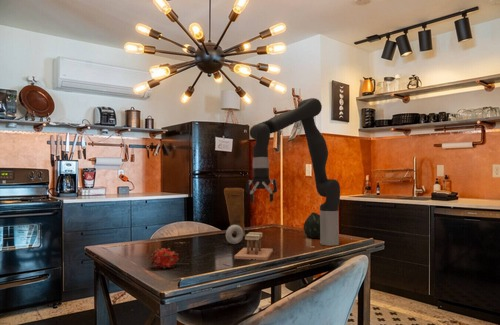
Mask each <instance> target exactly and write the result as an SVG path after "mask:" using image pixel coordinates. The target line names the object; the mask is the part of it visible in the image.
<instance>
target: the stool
mask: <svg viewBox="0 0 500 325" xmlns="http://www.w3.org/2000/svg"><path fill="white" fill-rule="evenodd" d="M262 237H264V236H263V232H256V231H255V232H252V231H251V232H248V233H247V234H245V236H244V240H246V248H247V254H250V248H251V251H253V248H255V254H258V251H261V248H262Z"/></svg>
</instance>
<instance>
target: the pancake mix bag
mask: <svg viewBox="0 0 500 325" xmlns="http://www.w3.org/2000/svg"><path fill="white" fill-rule="evenodd" d="M244 192H245V189H244V188H242V187H225V188H224V189H223V194H224V198H225V203H226V207H227V213H228V220H229V227H230V226H231V225H238V226H240V227H241V228H242V230H243V237H245V236H246V233H245V202H244V201H245V198H244V197H245V193H244ZM232 235H234V236H237V232H236V231H234V232H233V233H232Z"/></svg>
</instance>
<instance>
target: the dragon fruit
mask: <svg viewBox="0 0 500 325" xmlns="http://www.w3.org/2000/svg"><path fill="white" fill-rule="evenodd" d="M180 258H181V256H180V254H179V253H177V252H176V251H174V250H171V248H170V247H167V248H165V247H162V248H161V249H160V248H156V250H154V251H153V252H152V253H151V254H150V258H149V260H150V261H151V266H153V267H155V266H156V267H157V269H161V268H162V269H163V270H164V269H166V268H169V269H172V268H174V267H175V264H177V263H178V261H179V260H180Z"/></svg>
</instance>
